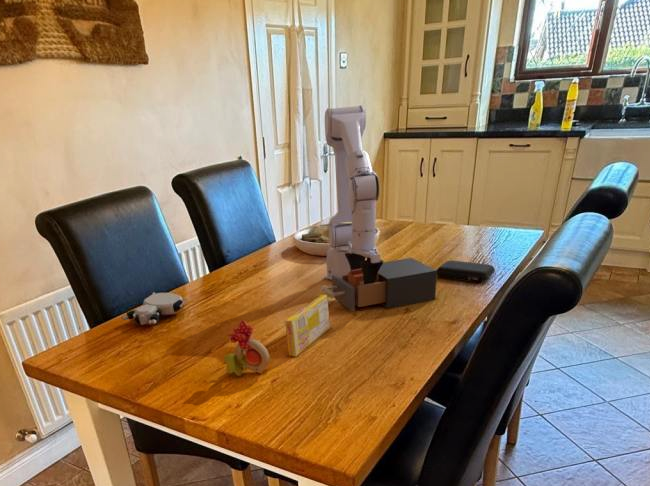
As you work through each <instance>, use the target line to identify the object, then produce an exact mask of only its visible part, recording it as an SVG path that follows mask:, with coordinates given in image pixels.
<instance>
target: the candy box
mask: <svg viewBox="0 0 650 486" xmlns="http://www.w3.org/2000/svg"><path fill="white" fill-rule="evenodd" d="M329 314H330V312H329V300H328V295H327V294H319V295H318V296H316V298H314V299H313V300H312V301H310V302H309V303H308V304H306V305H305V306H303V307H302V308H300V309H299V310H298V311H296V312H295V313H294V314H292V315H291V316H290V317H288V318H287V319H285V320H284V323H285V331H286V332H285V333H286V342H287V351H288V356H291V357H295V358H296V357H297V356H298V355H300V354H301V353H302V352H303V351H304V350H306V348H309V346H310V345H312V344H313V343H314V342H315V341H316V340H318V338H320V337H321V336H322V335H323V334H325V333H326V332H327V331H328V330H330V315H329Z"/></svg>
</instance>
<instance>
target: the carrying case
mask: <svg viewBox="0 0 650 486" xmlns="http://www.w3.org/2000/svg"><path fill="white" fill-rule="evenodd" d="M436 270H437V277H438V278H443V279H451V280H457V281H459V280H460V281H468V282H474V283H475V282H476V283H484V282H486V281H487V280H488V279H489V278H490V277H491V276H492V275H494V274H495V272H496V268H495V267H494V266H493V265H492V264H486V263H479V262H478V263H477V262H468V261H461V260H460V261H459V260H447V261H446V262H444V263H443V264H441V265H439V267H437V268H436Z"/></svg>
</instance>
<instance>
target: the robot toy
mask: <svg viewBox="0 0 650 486" xmlns="http://www.w3.org/2000/svg"><path fill="white" fill-rule="evenodd" d="M189 299H190V296H187V297H186V298H185V300H184V299H183V297H182V296H181V295H179V294H176V293H172V292H155V291H154V292H152V294H151V295H149V296H148V297H146V298H144V300H143V302H142V304H143V305H141V306H139V307H137V308H136V309H132V310H130V311H127V312H126V314H122V315H121V317H120V318H121V319H122V320H123V321H126V320H130V321H131V320H133V319H134V322H135V324H136V325H148V326H150V325H157V324H158V323H159V321H160V317H161V316H169V315H172V316H173V315H176V314H177V313H178V312H179V311H180V310H182V309H183V308H184V306H185V303H186V302H187V301H188V300H189Z"/></svg>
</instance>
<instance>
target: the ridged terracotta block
mask: <svg viewBox="0 0 650 486" xmlns="http://www.w3.org/2000/svg"><path fill="white" fill-rule="evenodd" d="M376 282H379V273H378V274H377V277H376V281H375V283H376ZM348 283H349V284H350V285H351V286H353V287H354V299H355V300H357V286H359V285H364V278H363V272H362V269H361V268H360V269H354V270H350V272H348Z"/></svg>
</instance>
